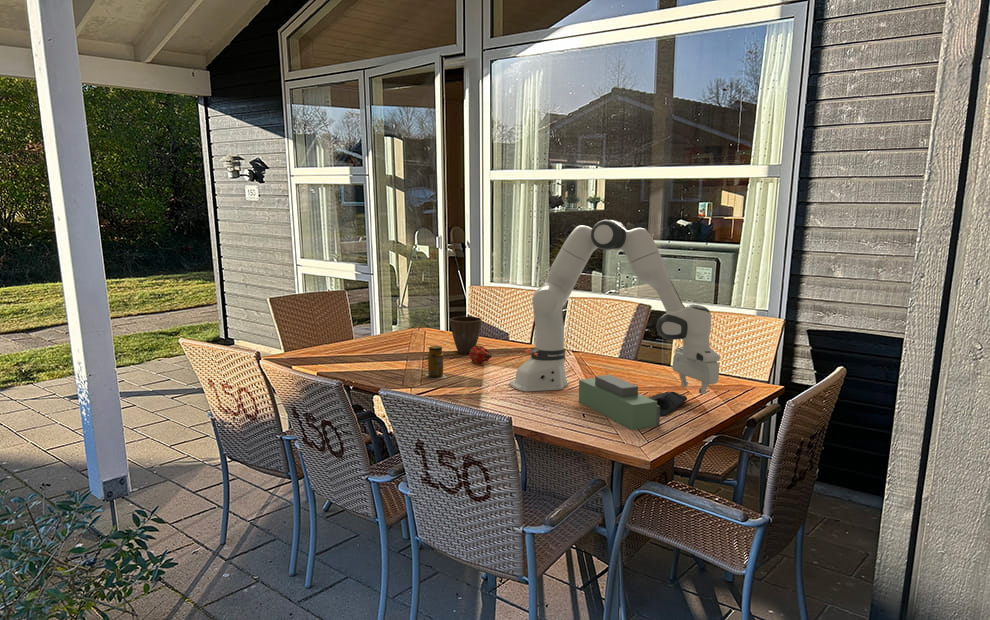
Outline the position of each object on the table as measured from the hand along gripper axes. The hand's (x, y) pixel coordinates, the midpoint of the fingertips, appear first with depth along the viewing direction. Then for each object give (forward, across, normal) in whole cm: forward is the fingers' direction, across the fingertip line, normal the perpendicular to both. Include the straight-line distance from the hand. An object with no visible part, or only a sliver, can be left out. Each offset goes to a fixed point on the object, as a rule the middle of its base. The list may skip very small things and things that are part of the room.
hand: (693, 389), depth 225 cm
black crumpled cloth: (+5, -1, -14) cm, 15 cm away
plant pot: (+7, -105, -46) cm, 115 cm away
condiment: (+7, -68, -73) cm, 100 cm away
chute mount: (+5, 0, -31) cm, 32 cm away
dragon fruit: (+6, -83, -48) cm, 96 cm away
